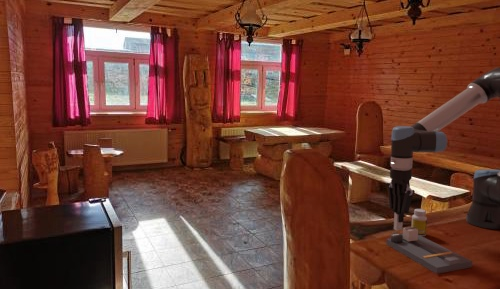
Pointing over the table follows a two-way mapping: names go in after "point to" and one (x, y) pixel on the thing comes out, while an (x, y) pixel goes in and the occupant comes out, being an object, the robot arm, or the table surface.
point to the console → (429, 254)
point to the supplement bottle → (420, 221)
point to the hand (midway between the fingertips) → (398, 229)
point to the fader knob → (410, 234)
